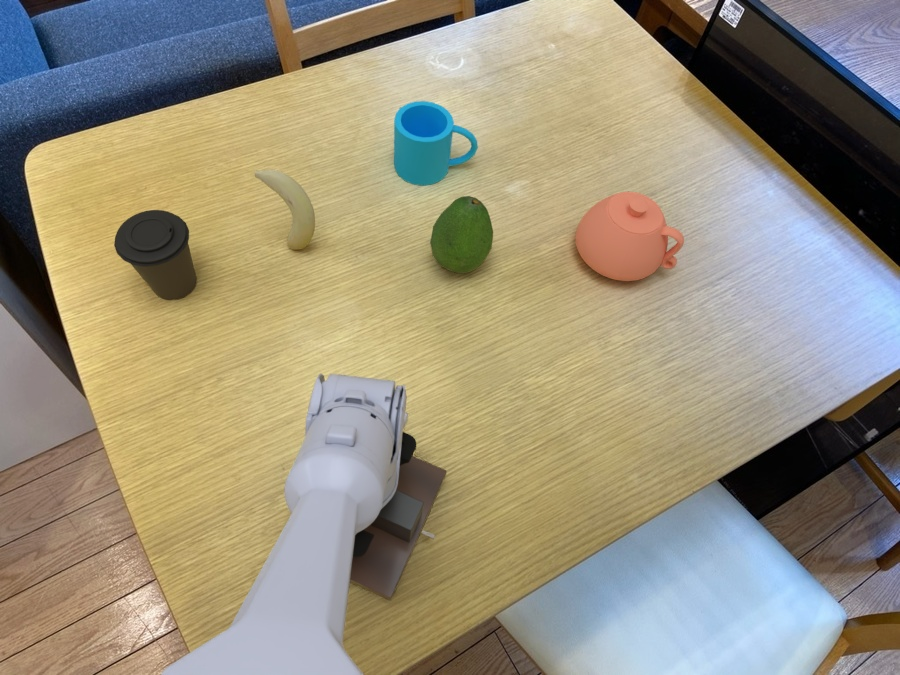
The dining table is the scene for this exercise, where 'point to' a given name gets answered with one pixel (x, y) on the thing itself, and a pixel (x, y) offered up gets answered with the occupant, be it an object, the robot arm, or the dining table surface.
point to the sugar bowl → (626, 237)
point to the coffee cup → (158, 252)
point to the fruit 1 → (292, 206)
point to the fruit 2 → (462, 235)
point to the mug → (426, 142)
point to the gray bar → (400, 516)
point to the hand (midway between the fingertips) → (367, 505)
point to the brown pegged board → (388, 551)
